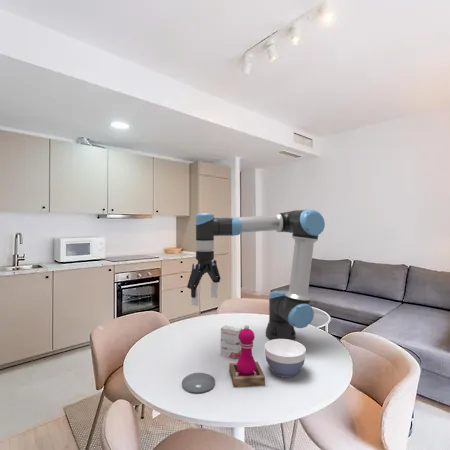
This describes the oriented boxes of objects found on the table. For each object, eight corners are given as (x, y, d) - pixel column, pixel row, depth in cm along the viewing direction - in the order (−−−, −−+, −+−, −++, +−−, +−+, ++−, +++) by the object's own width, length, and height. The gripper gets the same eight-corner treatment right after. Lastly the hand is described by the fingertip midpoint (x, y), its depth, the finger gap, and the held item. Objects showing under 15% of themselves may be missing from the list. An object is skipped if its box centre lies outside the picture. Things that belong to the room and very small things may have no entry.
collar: (257, 368, 115) (257, 361, 115) (265, 385, 104) (265, 377, 104) (229, 370, 114) (229, 363, 114) (233, 387, 103) (233, 379, 103)
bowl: (298, 387, 103) (298, 360, 103) (257, 374, 111) (257, 349, 111) (310, 368, 117) (310, 344, 116) (273, 357, 125) (273, 335, 125)
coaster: (213, 373, 112) (213, 371, 112) (216, 392, 100) (216, 390, 100) (182, 375, 110) (182, 373, 110) (181, 394, 98) (181, 392, 98)
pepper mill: (254, 384, 105) (255, 329, 104) (235, 381, 106) (235, 327, 106) (256, 373, 112) (257, 322, 111) (238, 371, 113) (238, 321, 113)
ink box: (242, 354, 128) (242, 327, 128) (238, 359, 123) (238, 331, 123) (224, 350, 132) (224, 324, 131) (219, 355, 127) (220, 328, 127)
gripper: (214, 247, 133) (214, 293, 133) (177, 252, 112) (178, 307, 112) (228, 248, 129) (228, 295, 129) (193, 254, 108) (193, 310, 108)
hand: (204, 301), depth 121 cm, fingers open, 13 cm apart
